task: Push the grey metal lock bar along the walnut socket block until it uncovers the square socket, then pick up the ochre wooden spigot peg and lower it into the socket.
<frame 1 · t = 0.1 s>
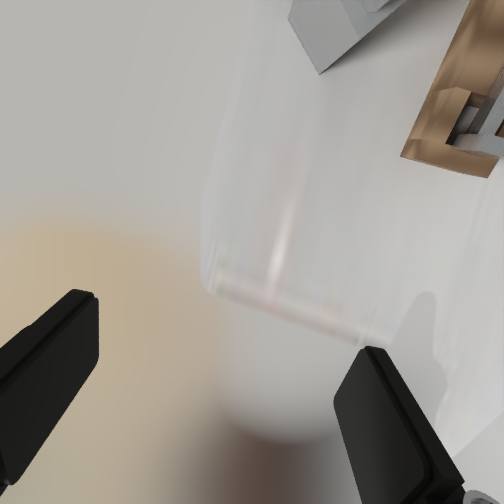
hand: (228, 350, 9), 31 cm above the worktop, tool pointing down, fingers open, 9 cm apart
perfume bottle: (328, 26, 30), on the worktop
socket block: (471, 82, 32), on the worktop
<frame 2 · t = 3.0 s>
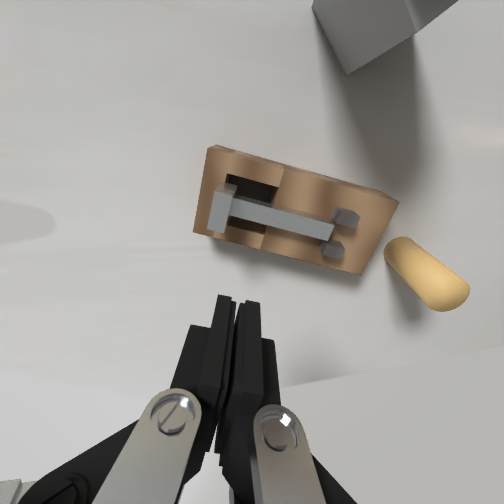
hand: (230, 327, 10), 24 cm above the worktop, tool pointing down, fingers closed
perfume bottle: (361, 16, 25), on the worktop
spigot peg: (399, 251, 34), on the worktop
socket block: (287, 205, 32), on the worktop
lock pin: (274, 220, 26), point 7 cm above the worktop, slide at 0.0 cm
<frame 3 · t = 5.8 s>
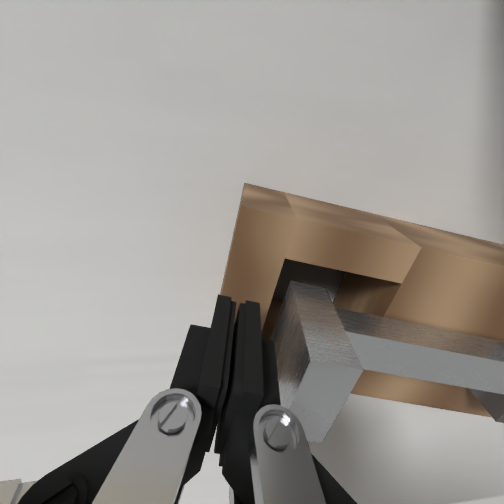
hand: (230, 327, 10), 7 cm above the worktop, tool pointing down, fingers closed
socket block: (376, 284, 17), on the worktop
lock pin: (425, 374, 11), point 7 cm above the worktop, slide at 0.8 cm, touching gripper
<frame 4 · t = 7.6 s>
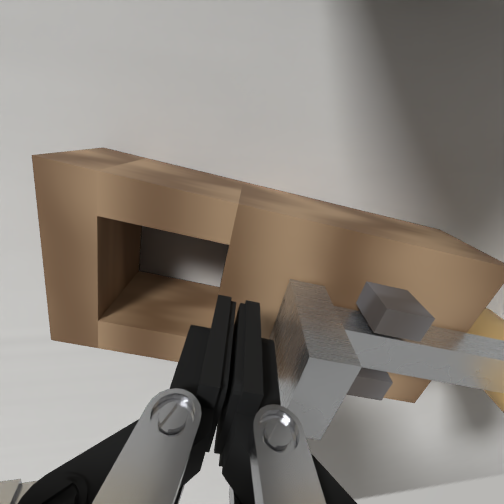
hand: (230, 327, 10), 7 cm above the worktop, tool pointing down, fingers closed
spigot peg: (467, 329, 19), on the worktop
socket block: (262, 259, 17), on the worktop
lock pin: (423, 372, 11), point 7 cm above the worktop, slide at 8.6 cm, touching gripper
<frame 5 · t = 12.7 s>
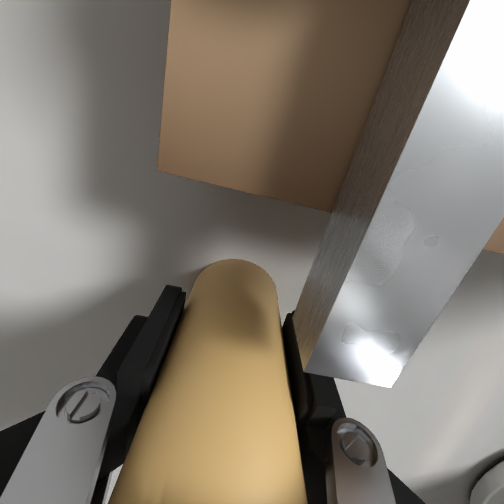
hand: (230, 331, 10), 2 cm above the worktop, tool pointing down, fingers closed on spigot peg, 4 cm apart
spigot peg: (234, 297, 12), on the worktop, touching gripper
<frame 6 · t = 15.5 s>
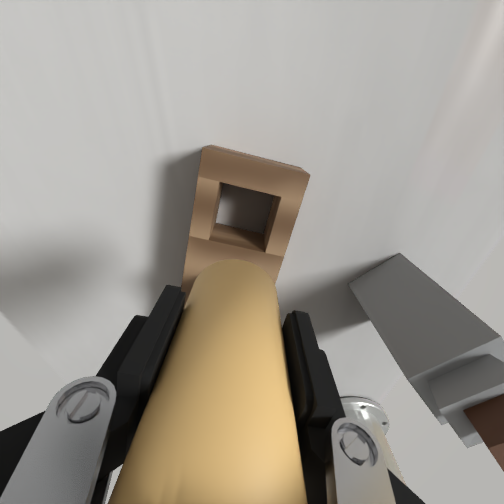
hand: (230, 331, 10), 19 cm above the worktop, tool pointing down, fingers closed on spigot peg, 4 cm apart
perfume bottle: (385, 287, 32), on the worktop
spigot peg: (234, 297, 12), point 17 cm above the worktop, touching gripper
socket block: (235, 247, 30), on the worktop
when the fingers open (5 cm above the worktop, at t = 18.4 s): spigot peg drops 3 cm, resting in socket block.
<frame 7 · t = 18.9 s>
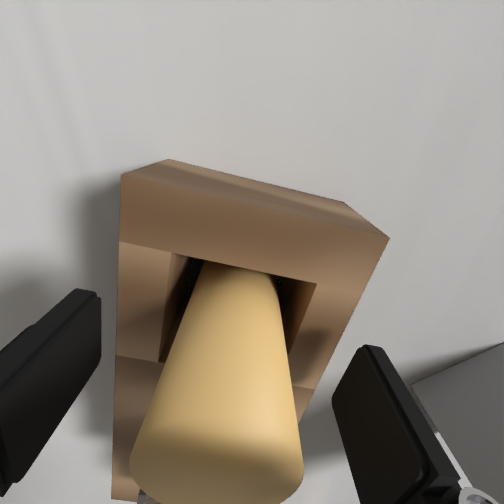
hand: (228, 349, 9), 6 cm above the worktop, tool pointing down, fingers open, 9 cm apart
perfume bottle: (470, 388, 20), on the worktop
spigot peg: (238, 268, 15), resting in socket block
socket block: (221, 333, 17), on the worktop
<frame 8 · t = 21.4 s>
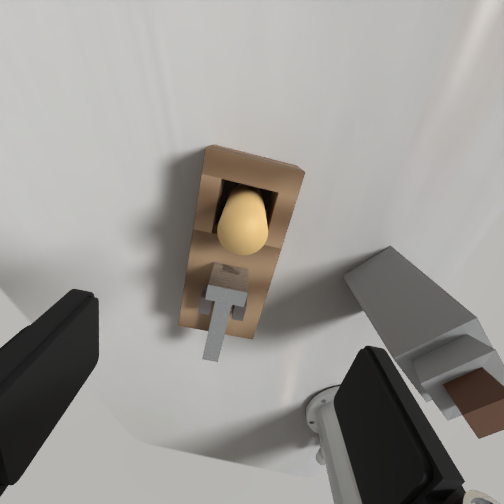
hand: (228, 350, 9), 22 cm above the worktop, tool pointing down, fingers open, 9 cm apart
perfume bottle: (377, 278, 34), on the worktop
spigot peg: (245, 201, 30), resting in socket block
socket block: (236, 240, 32), on the worktop
lock pin: (218, 324, 28), point 7 cm above the worktop, slide at 8.7 cm
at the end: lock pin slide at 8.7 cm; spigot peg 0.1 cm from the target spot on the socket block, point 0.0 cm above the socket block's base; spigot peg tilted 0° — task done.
